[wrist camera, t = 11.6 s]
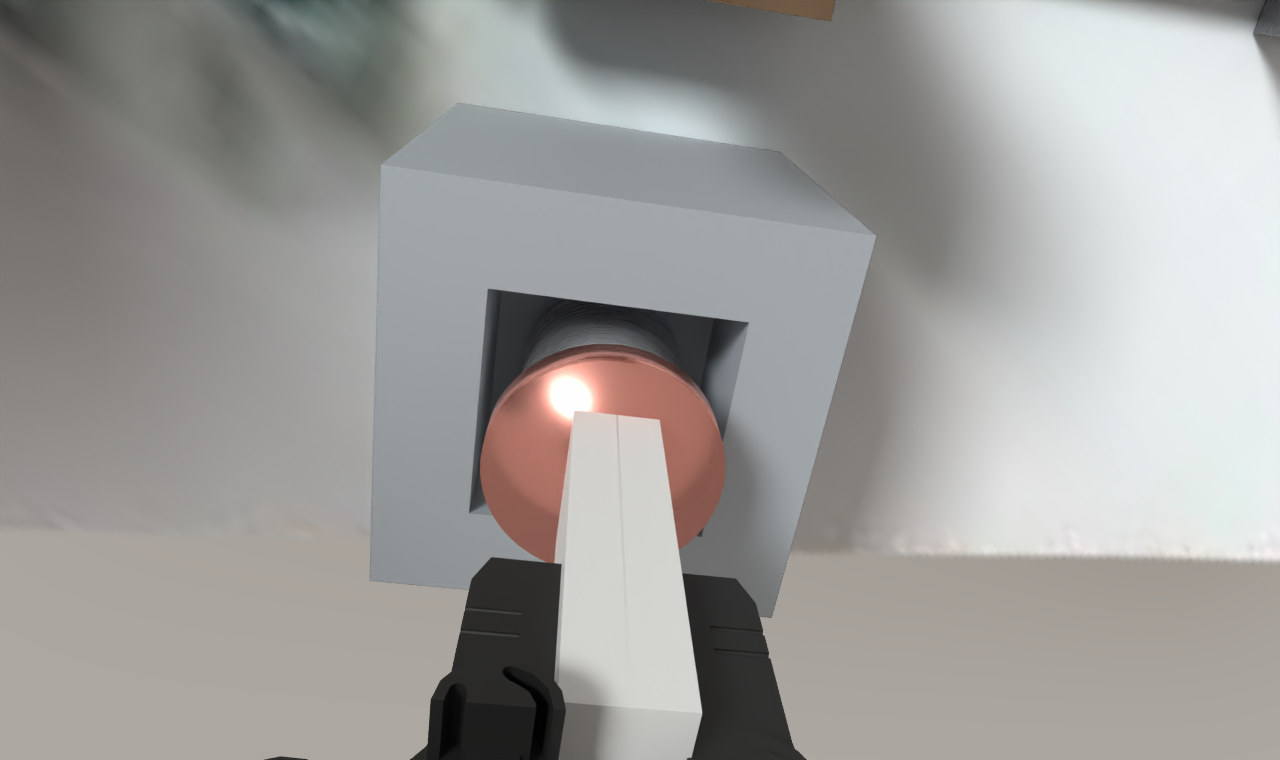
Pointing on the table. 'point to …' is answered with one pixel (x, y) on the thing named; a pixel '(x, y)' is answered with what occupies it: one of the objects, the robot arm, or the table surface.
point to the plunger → (604, 383)
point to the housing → (610, 274)
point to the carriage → (789, 7)
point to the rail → (1269, 20)
